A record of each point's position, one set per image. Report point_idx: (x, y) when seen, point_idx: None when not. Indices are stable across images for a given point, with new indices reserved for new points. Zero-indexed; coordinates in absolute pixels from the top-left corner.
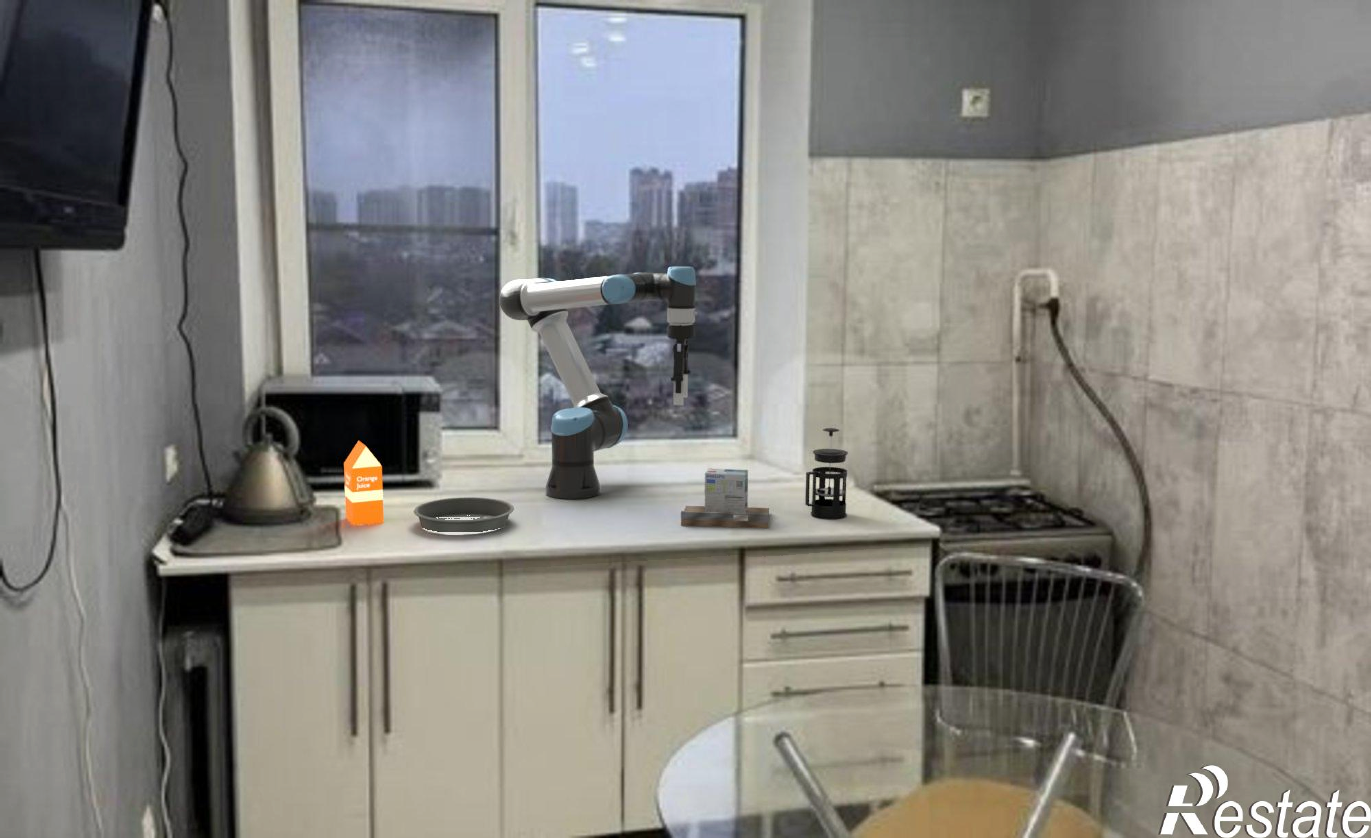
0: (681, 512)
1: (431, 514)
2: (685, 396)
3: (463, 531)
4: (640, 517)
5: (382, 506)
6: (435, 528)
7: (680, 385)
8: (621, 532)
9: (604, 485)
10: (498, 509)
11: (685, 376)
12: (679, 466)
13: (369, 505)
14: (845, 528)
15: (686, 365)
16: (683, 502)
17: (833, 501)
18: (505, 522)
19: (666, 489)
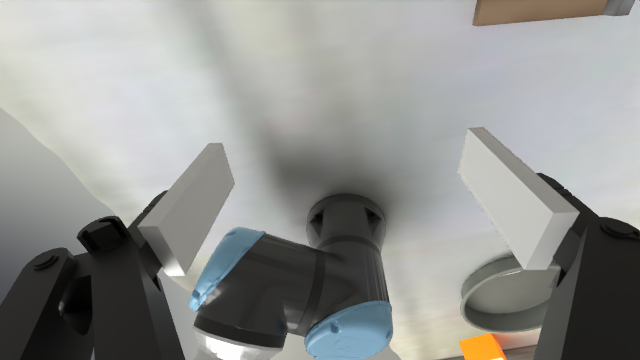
0: (627, 13)
1: (481, 315)
2: (222, 154)
3: None
4: (511, 107)
5: (498, 350)
6: None
7: (583, 208)
8: (616, 119)
9: (284, 197)
10: (481, 276)
11: (170, 228)
12: (81, 107)
13: (503, 357)
14: None
15: (148, 303)
16: (391, 44)
17: None
18: None
19: (285, 98)
